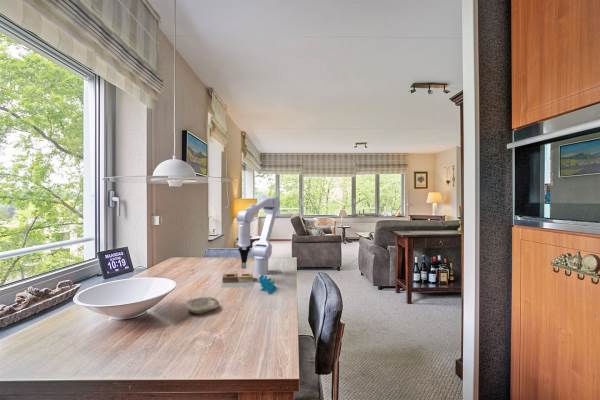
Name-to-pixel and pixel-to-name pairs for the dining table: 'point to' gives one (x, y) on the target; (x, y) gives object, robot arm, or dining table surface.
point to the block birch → (245, 277)
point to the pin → (243, 265)
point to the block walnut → (230, 278)
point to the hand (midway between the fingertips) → (244, 261)
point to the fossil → (201, 305)
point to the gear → (267, 284)
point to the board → (238, 284)
